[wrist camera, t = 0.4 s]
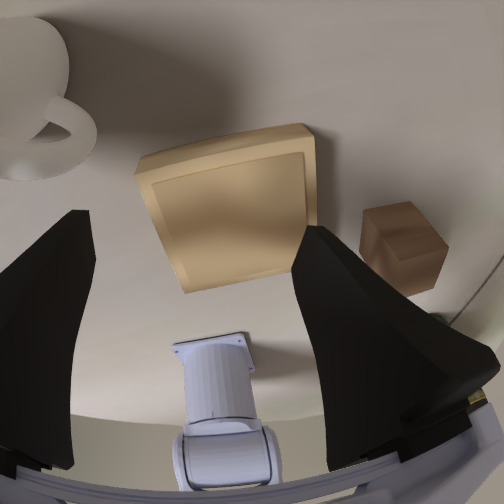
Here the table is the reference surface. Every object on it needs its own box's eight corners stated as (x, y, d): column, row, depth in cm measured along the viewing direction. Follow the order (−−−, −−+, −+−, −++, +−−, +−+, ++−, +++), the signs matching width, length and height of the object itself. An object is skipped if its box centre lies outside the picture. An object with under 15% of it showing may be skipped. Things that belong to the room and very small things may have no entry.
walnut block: (401, 241, 26) (433, 288, 21) (358, 251, 26) (387, 303, 21) (409, 201, 23) (449, 247, 18) (363, 209, 23) (399, 261, 18)
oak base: (307, 243, 24) (318, 267, 22) (184, 270, 24) (184, 295, 22) (300, 122, 17) (315, 137, 15) (141, 157, 17) (133, 176, 15)
